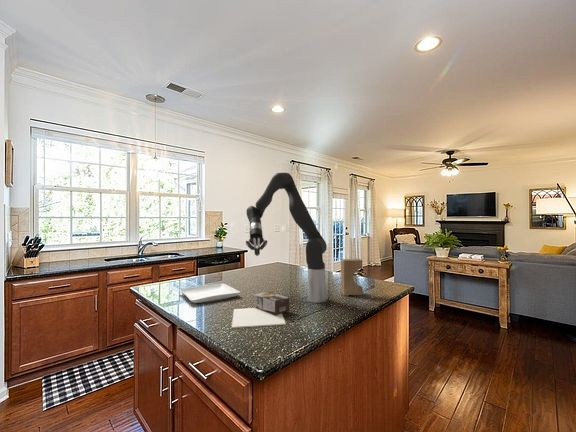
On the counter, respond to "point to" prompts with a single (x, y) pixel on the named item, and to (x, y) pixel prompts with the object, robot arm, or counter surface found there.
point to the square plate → (209, 293)
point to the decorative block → (350, 277)
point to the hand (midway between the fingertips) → (257, 254)
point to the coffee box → (271, 303)
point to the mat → (255, 318)
